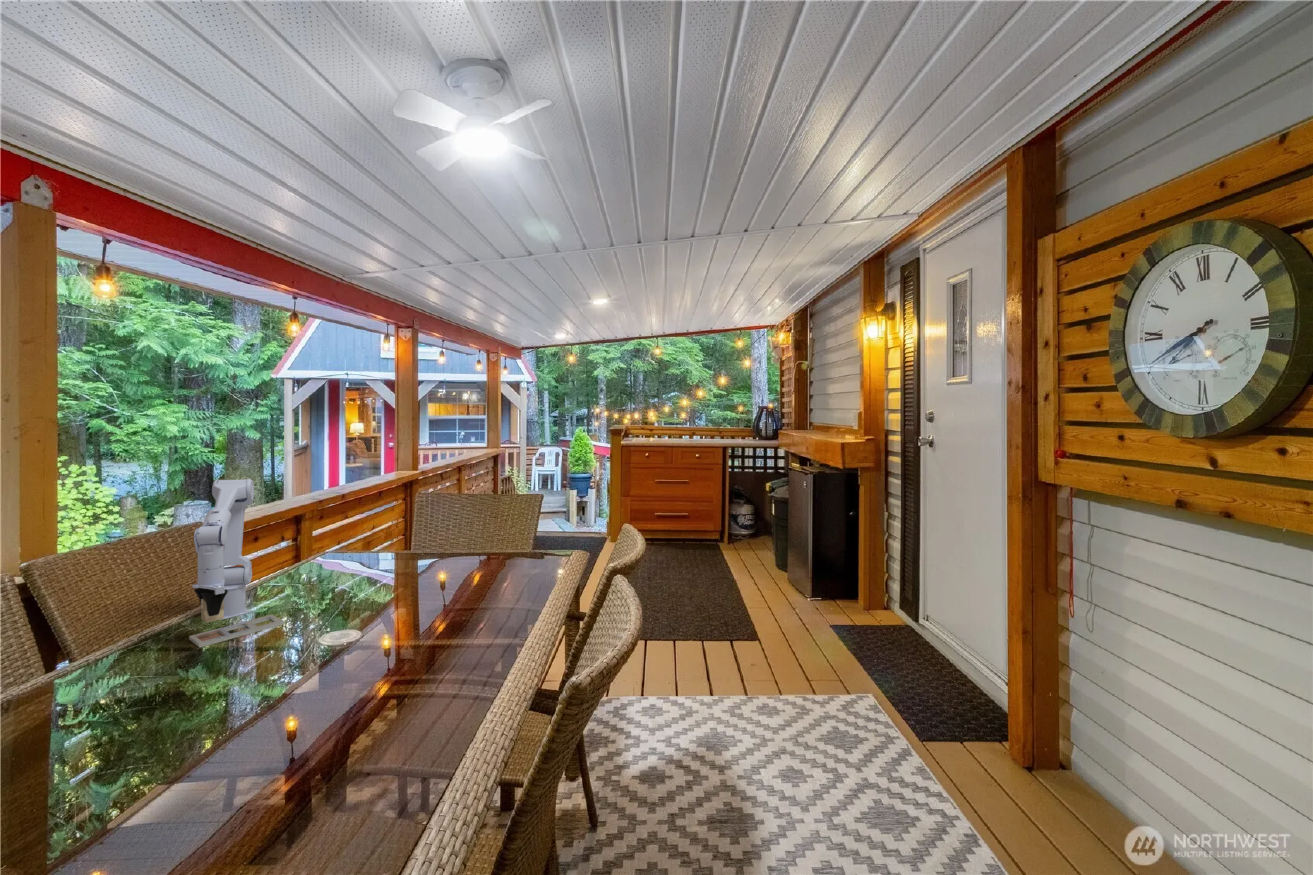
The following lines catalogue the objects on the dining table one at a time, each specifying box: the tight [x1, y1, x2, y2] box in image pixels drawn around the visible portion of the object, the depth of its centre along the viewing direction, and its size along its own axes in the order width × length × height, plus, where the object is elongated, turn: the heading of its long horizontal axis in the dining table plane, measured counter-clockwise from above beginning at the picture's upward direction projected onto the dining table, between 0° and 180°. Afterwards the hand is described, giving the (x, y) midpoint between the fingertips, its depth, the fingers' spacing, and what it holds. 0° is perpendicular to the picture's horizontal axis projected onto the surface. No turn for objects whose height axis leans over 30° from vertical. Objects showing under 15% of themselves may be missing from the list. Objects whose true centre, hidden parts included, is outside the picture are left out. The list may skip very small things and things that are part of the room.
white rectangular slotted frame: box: [188, 614, 285, 648], centre depth 155 cm, size 8×20×1 cm, turn 147°
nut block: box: [200, 599, 225, 624], centre depth 150 cm, size 4×4×6 cm
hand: (210, 613), depth 150 cm, fingers closed on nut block, 4 cm apart
